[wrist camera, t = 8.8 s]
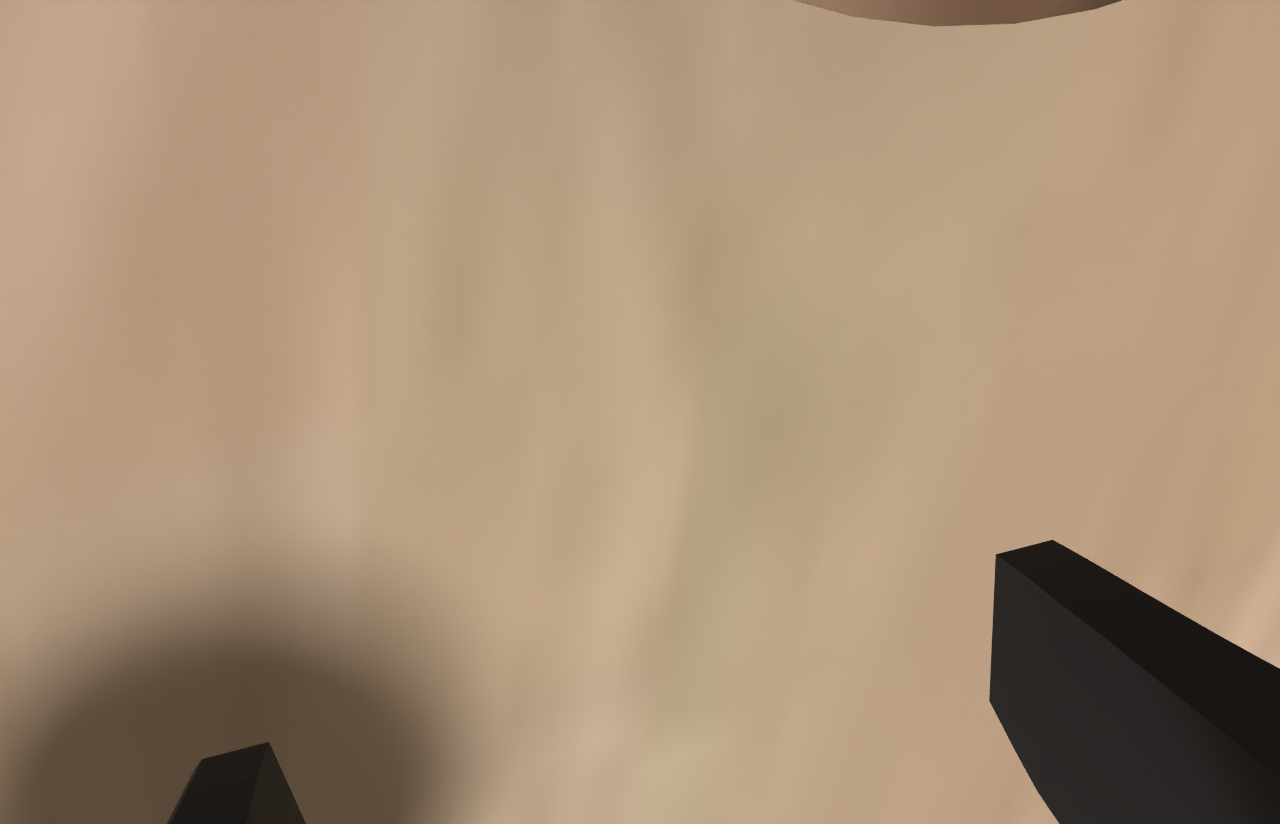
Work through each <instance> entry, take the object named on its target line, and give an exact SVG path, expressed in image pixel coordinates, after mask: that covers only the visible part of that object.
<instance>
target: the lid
mask: <svg viewBox="0 0 1280 824" xmlns="http://www.w3.org/2000/svg"><path fill="white" fill-rule="evenodd" d="M795 1H798V2H802V3H805V4H809V5H813V6H816V7H820V8H824V9H827V10H831V11H834V12H838V13H842V14H845V15H849V16H852V17H860V18H868V19H877V20H885V21H894V22H902V23H911V24H919V25H928V26H957V25H986V24H1015V23H1021V22H1026V21H1032V20H1037V19H1043V18H1048V17H1054V16H1059V15H1065V14H1071V13H1076V12H1082V11H1087V10H1093V9H1097V8H1100V7H1103V6H1106V5H1109V4H1112V3H1115V2H1118V1H1121V0H795Z"/></svg>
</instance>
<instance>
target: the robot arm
mask: <svg viewBox="0 0 1280 824" xmlns="http://www.w3.org/2000/svg"><path fill="white" fill-rule="evenodd" d="M989 701H990V703H991V705H992V707H993V708H994V710H995V712H996V714H997V716H998V718H999V720H1000V722H1001V724H1002V726H1003V728H1004V730H1005V732H1006V734H1007V736H1008V738H1009V740H1010V742H1011V744H1012V745H1013V747H1014V749H1015V751H1016V753H1017V755H1018V757H1019V759H1020V760H1021V762H1022V764H1023V766H1024V768H1025V769H1026V771H1027V773H1028V775H1029V777H1030V779H1031V780H1032V782H1033V784H1034V786H1035V788H1036V790H1037V791H1038V793H1039V794H1040V796H1041V797H1042V799H1043V800H1044V802H1045V803H1046V805H1047V806H1048V808H1049V809H1050V811H1051V812H1052V814H1053V815H1054V816H1055V818H1056V819H1057V821H1058V822H1059V824H1280V669H1279V668H1277V667H1275V666H1274V665H1272V664H1270V663H1268V662H1266V661H1264V660H1262V659H1261V658H1259V657H1257V656H1255V655H1253V654H1251V653H1250V652H1248V651H1246V650H1244V649H1242V648H1241V647H1239V646H1237V645H1235V644H1233V643H1232V642H1230V641H1228V640H1226V639H1224V638H1223V637H1221V636H1219V635H1217V634H1215V633H1214V632H1212V631H1210V630H1208V629H1207V628H1205V627H1203V626H1201V625H1200V624H1198V623H1196V622H1194V621H1193V620H1191V619H1189V618H1187V617H1186V616H1184V615H1182V614H1180V613H1179V612H1177V611H1175V610H1174V609H1172V608H1170V607H1168V606H1167V605H1165V604H1163V603H1161V602H1160V601H1158V600H1156V599H1155V598H1153V597H1151V596H1149V595H1148V594H1146V593H1144V592H1143V591H1141V590H1139V589H1137V588H1136V587H1134V586H1132V585H1131V584H1129V583H1127V582H1125V581H1124V580H1122V579H1120V578H1119V577H1117V576H1115V575H1113V574H1112V573H1110V572H1108V571H1107V570H1105V569H1103V568H1101V567H1100V566H1098V565H1096V564H1095V563H1093V562H1091V561H1089V560H1088V559H1086V558H1084V557H1082V556H1081V555H1079V554H1077V553H1075V552H1074V551H1072V550H1070V549H1068V548H1066V547H1065V546H1063V545H1061V544H1059V543H1057V542H1056V541H1054V540H1050V541H1046V542H1043V543H1039V544H1035V545H1031V546H1027V547H1023V548H1019V549H1015V550H1012V551H1008V552H1004V553H1000V554H996V564H995V587H994V609H993V632H992V654H991V677H990V699H989ZM167 824H306V823H305V821H304V819H303V817H302V814H301V812H300V810H299V808H298V805H297V803H296V801H295V799H294V797H293V794H292V792H291V790H290V788H289V786H288V783H287V781H286V779H285V777H284V774H283V772H282V770H281V768H280V766H279V763H278V761H277V759H276V757H275V755H274V752H273V750H272V748H271V746H270V743H269V742H267V743H263V744H260V745H256V746H252V747H248V748H244V749H240V750H236V751H232V752H229V753H225V754H221V755H217V756H213V757H209V758H205V759H202V760H201V762H200V763H199V765H198V766H197V767H196V769H195V770H194V772H193V774H192V776H191V778H190V780H189V782H188V784H187V786H186V788H185V790H184V791H183V793H182V795H181V797H180V799H179V801H178V803H177V805H176V807H175V809H174V811H173V813H172V815H171V817H170V819H169V821H168V823H167Z"/></svg>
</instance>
